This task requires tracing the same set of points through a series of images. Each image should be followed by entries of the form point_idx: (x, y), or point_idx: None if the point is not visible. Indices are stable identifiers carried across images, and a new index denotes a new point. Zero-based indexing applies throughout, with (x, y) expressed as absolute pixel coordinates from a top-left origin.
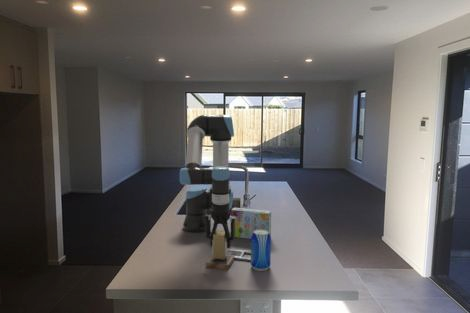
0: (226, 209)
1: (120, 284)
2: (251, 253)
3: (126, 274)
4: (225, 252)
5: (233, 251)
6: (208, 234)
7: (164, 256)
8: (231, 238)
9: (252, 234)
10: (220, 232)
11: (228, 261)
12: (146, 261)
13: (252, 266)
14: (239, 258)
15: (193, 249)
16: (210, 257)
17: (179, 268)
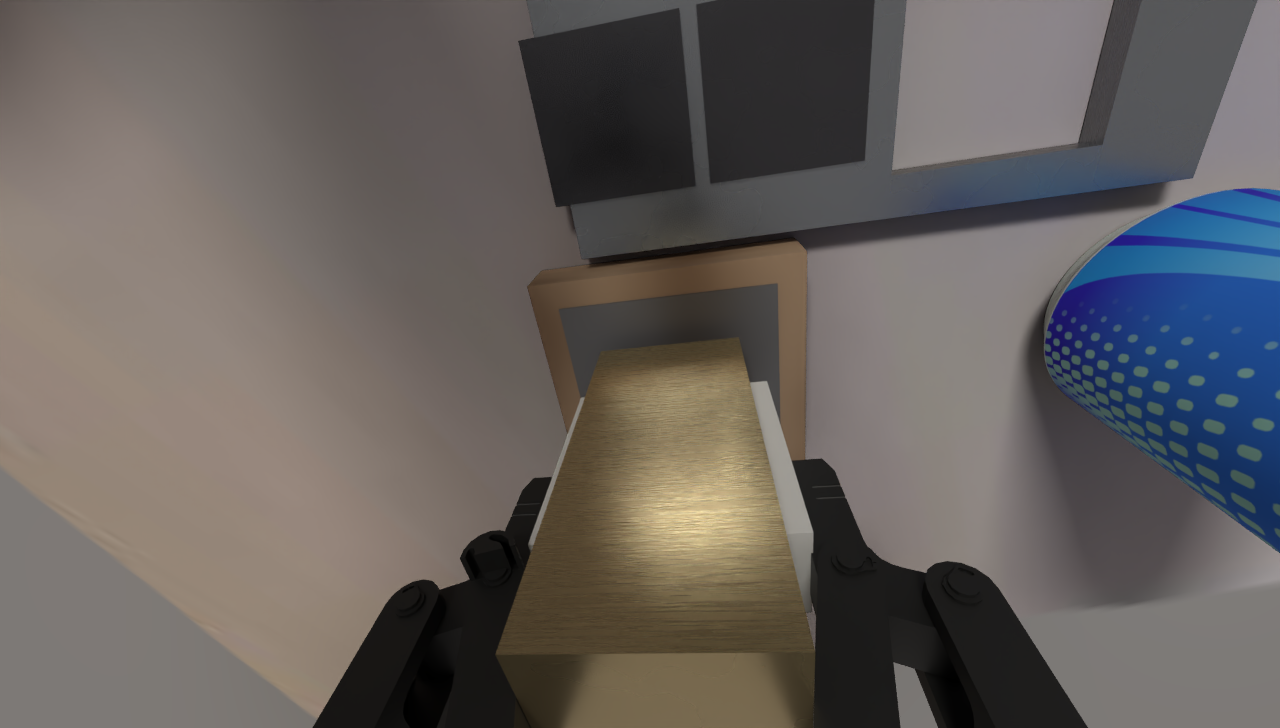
0: None
1: None
2: (1180, 469)
3: (254, 650)
4: None
5: (728, 35)
6: (445, 715)
7: (165, 415)
8: (937, 679)
9: None
10: (656, 722)
11: (783, 413)
12: (163, 518)
13: (1065, 393)
14: (867, 219)
15: (200, 152)
16: (562, 393)
17: (433, 534)
